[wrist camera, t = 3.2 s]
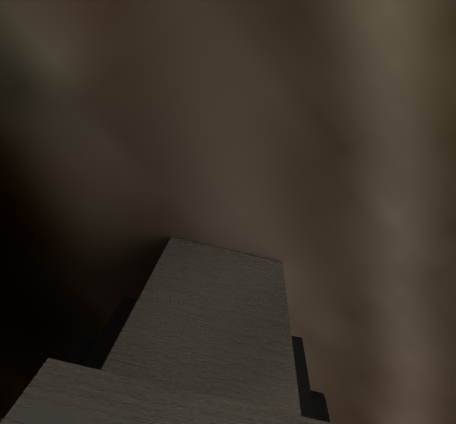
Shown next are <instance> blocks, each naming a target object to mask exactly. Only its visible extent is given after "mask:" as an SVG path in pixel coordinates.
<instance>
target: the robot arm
mask: <svg viewBox="0 0 456 424" xmlns="http://www.w3.org/2000/svg"><path fill="white" fill-rule="evenodd" d="M137 301H138V300H135V299H131V298H126V297H123V299H122V300H121V302H120V304H119V305H118V307H117V309H116V310H115V312H114V314H113V315H112V317H111V319H110V320H109V322H108V324H107V325H106V327H105V329H104V330H103V332H102V334H101V335H100V337H99V339H98V340H97V341H94V340H89V339H85V338H81V339H79V340H78V341H77V343H76V344H75V346H74V347H73V349H72V350H71V351H70V353H69V354H68V356H67V357H66V359H65V360H64V362H68V363H72V364H77V365H81V366H85V367H90V368H94V369H98V370H101V368H102V367H103V365H104V363H105V361H106V359H107V357H108V355H109V353H110V352H111V350H112V348H113V346H114V344H115V342H116V340H117V338H118V336H119V335H120V333H121V331H122V329H123V327H124V325H125V323H126V321H127V319H128V318H129V316H130V314H131V312H132V310H133V308H134V306H135V304H136V302H137ZM291 337H292V345H293V353H294V361H295V369H296V377H297V385H298V393H299V402H300V410H301V416H303V417H307V418H312V419H316V420H320V421H325V422H329V423H330V419H329V414H328V409H327V404H326V400H325V397H324V395H323V394H322V393H319V392H315V391H311V390H310V385H309V378H308V372H307V366H306V360H305V354H304V347H303V341H302V338H300V337H295V336H291ZM4 418H5V417H4ZM4 418H1V419H0V423H1V422H2V420H3V419H4Z"/></svg>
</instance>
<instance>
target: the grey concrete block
mask: <svg viewBox="0 0 456 424" xmlns="http://www.w3.org/2000/svg"><path fill="white" fill-rule="evenodd" d="M0 424H333V423H329V422H325V421H320V420H316V419H312V418H307V417H303V416H301V410H300V402H299V393H298V385H297V377H296V369H295V361H294V353H293V345H292V337H291V328H290V320H289V312H288V304H287V296H286V288H285V280H284V272H283V264H282V262H278V261H274V260H269V259H265V258H261V257H256V256H252V255H248V254H243V253H239V252H235V251H230V250H226V249H222V248H217V247H213V246H209V245H204V244H200V243H196V242H191V241H187V240H183V239H178V238H174V237H171V238H170V240H169V242H168V244H167V246H166V248H165V250H164V251H163V253H162V255H161V257H160V259H159V261H158V263H157V265H156V267H155V268H154V270H153V272H152V274H151V276H150V278H149V280H148V282H147V284H146V285H145V287H144V289H143V291H142V293H141V295H140V297H139V299H138V301H137V302H136V304H135V306H134V308H133V310H132V312H131V314H130V316H129V318H128V319H127V321H126V323H125V325H124V327H123V329H122V331H121V333H120V335H119V336H118V338H117V340H116V342H115V344H114V346H113V348H112V350H111V352H110V353H109V355H108V357H107V359H106V361H105V363H104V365H103V367H102V368H101V370H98V369H94V368H90V367H85V366H81V365H77V364H72V363H68V362H64V361H59V360H55V359H50V358H48V359H47V361H46V362H45V363H44V365H43V366H42V367H41V369H40V370H39V371H38V373H37V374H36V376H35V377H34V378H33V380H32V381H31V382H30V384H29V385H28V386H27V388H26V389H25V391H24V392H23V393H22V395H21V396H20V397H19V399H18V400H17V401H16V403H15V404H14V405H13V407H12V408H11V410H10V411H9V412H8V414H7V415H6V416H5V418H4V419H3V420H2V422H1V423H0Z"/></svg>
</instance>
